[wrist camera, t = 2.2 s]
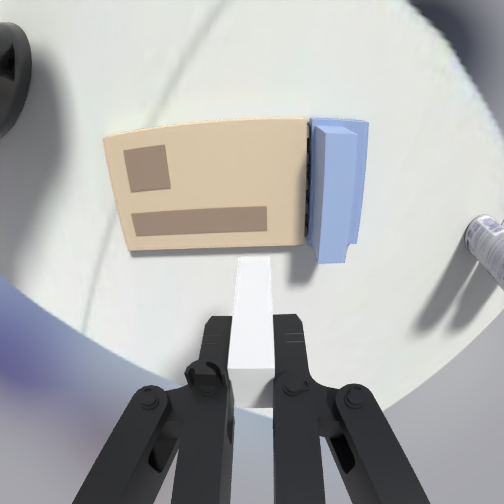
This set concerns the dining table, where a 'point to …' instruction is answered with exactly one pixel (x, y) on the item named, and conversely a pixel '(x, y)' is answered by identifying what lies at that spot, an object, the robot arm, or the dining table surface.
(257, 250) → the dining table surface
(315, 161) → the light blue stepped block
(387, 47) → the dining table surface
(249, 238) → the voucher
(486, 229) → the energy drink
